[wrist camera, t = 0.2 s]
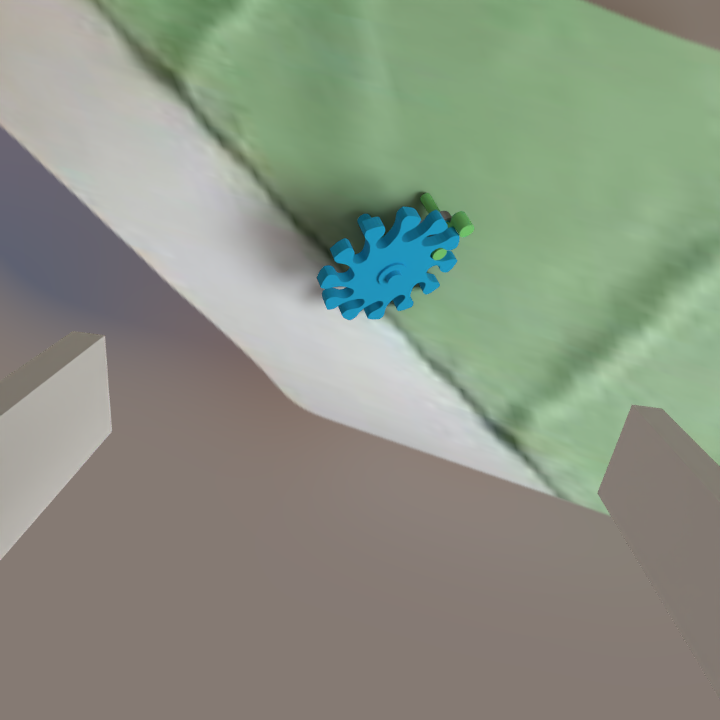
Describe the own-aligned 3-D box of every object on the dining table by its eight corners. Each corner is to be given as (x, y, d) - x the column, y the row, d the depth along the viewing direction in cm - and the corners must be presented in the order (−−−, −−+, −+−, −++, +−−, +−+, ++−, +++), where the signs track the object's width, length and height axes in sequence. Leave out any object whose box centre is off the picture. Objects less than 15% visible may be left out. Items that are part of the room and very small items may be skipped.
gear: (349, 344, 40) (300, 273, 31) (324, 285, 43) (273, 205, 34) (484, 279, 39) (472, 187, 30) (449, 223, 42) (429, 124, 33)
